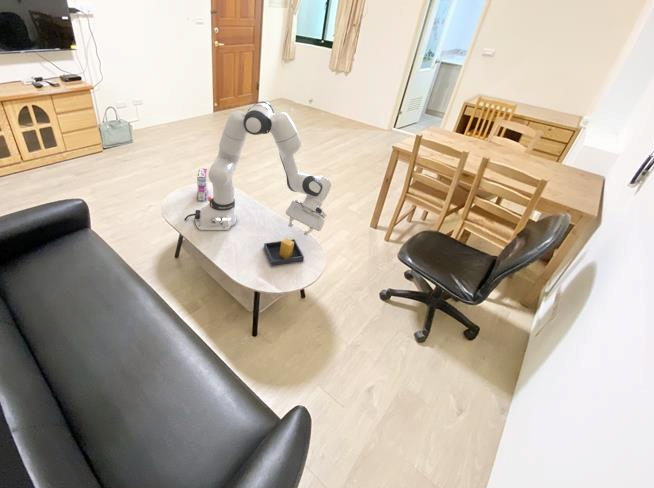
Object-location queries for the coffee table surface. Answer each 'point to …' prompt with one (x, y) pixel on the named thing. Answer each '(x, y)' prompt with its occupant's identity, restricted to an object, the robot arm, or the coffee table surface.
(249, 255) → the coffee table surface
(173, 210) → the coffee table surface
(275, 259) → the pan
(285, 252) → the cheese
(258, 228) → the coffee table surface
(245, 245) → the coffee table surface
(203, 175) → the candy bar box
